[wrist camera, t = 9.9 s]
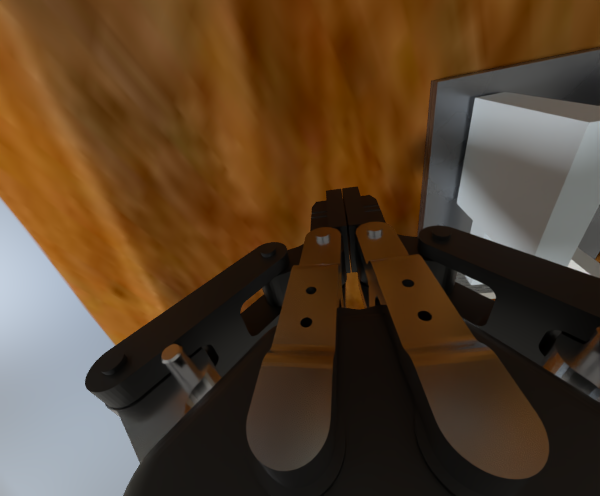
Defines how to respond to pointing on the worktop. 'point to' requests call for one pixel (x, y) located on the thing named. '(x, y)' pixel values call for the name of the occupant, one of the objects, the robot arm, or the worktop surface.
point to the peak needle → (584, 263)
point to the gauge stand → (456, 124)
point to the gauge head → (531, 173)
